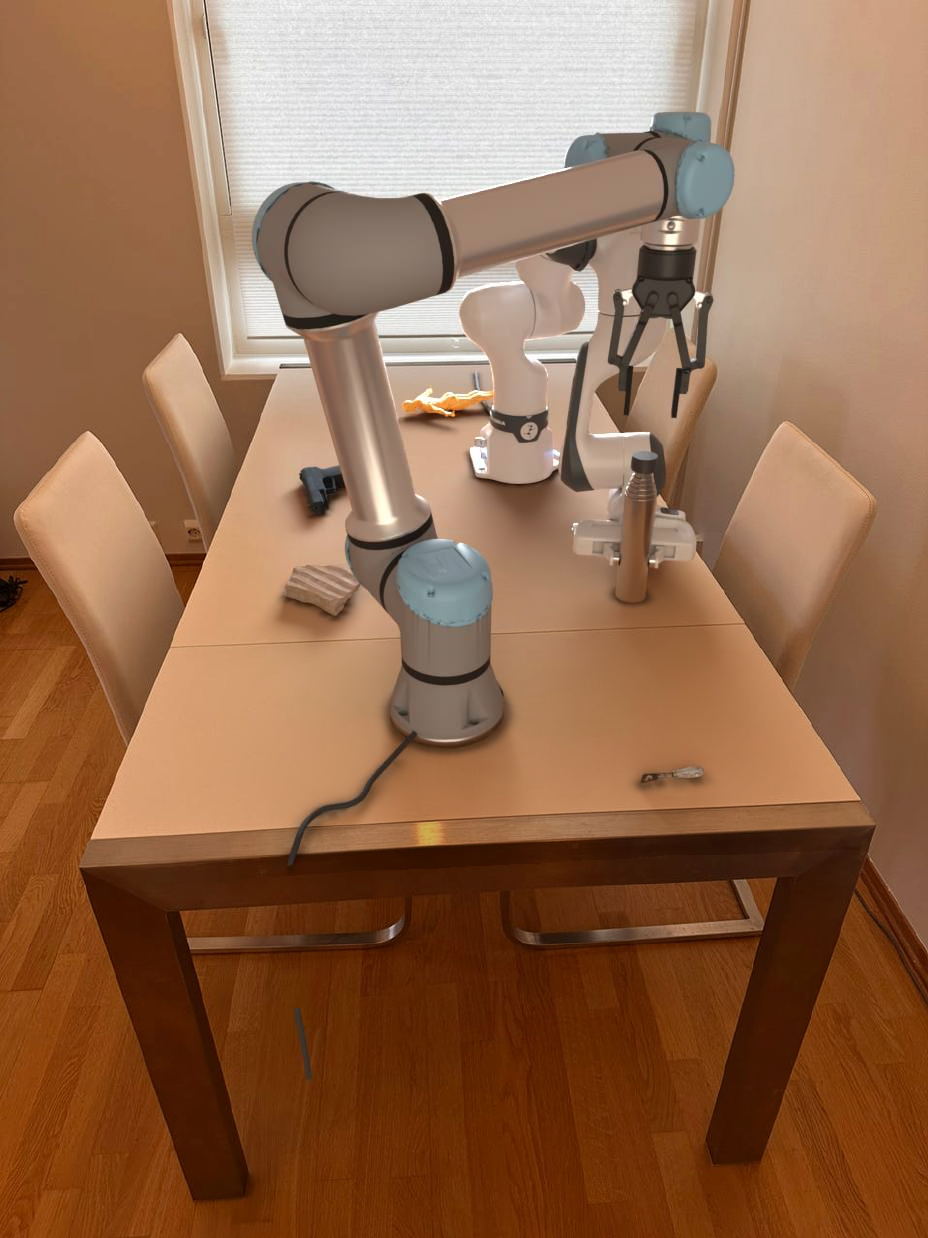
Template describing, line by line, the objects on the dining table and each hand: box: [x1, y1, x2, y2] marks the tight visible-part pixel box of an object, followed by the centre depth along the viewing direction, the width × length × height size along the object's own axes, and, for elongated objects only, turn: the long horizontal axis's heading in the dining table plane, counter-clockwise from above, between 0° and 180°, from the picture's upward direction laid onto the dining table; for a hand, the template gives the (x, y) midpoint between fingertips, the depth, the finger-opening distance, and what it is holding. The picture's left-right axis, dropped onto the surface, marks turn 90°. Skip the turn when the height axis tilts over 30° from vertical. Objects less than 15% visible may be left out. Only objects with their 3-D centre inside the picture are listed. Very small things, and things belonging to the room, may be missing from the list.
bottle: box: [614, 472, 658, 604], centre depth 141 cm, size 5×5×24 cm
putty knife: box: [640, 765, 705, 784], centre depth 109 cm, size 1×8×2 cm, turn 103°
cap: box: [631, 451, 658, 474], centre depth 135 cm, size 4×4×2 cm
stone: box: [283, 564, 361, 617], centre depth 148 cm, size 13×12×3 cm
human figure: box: [402, 385, 493, 418], centre depth 225 cm, size 20×20×4 cm
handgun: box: [298, 464, 346, 515], centre depth 181 cm, size 3×18×12 cm
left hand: (650, 413), depth 131 cm, fingers open, 6 cm apart
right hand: (634, 563), depth 143 cm, fingers closed on bottle, 5 cm apart
